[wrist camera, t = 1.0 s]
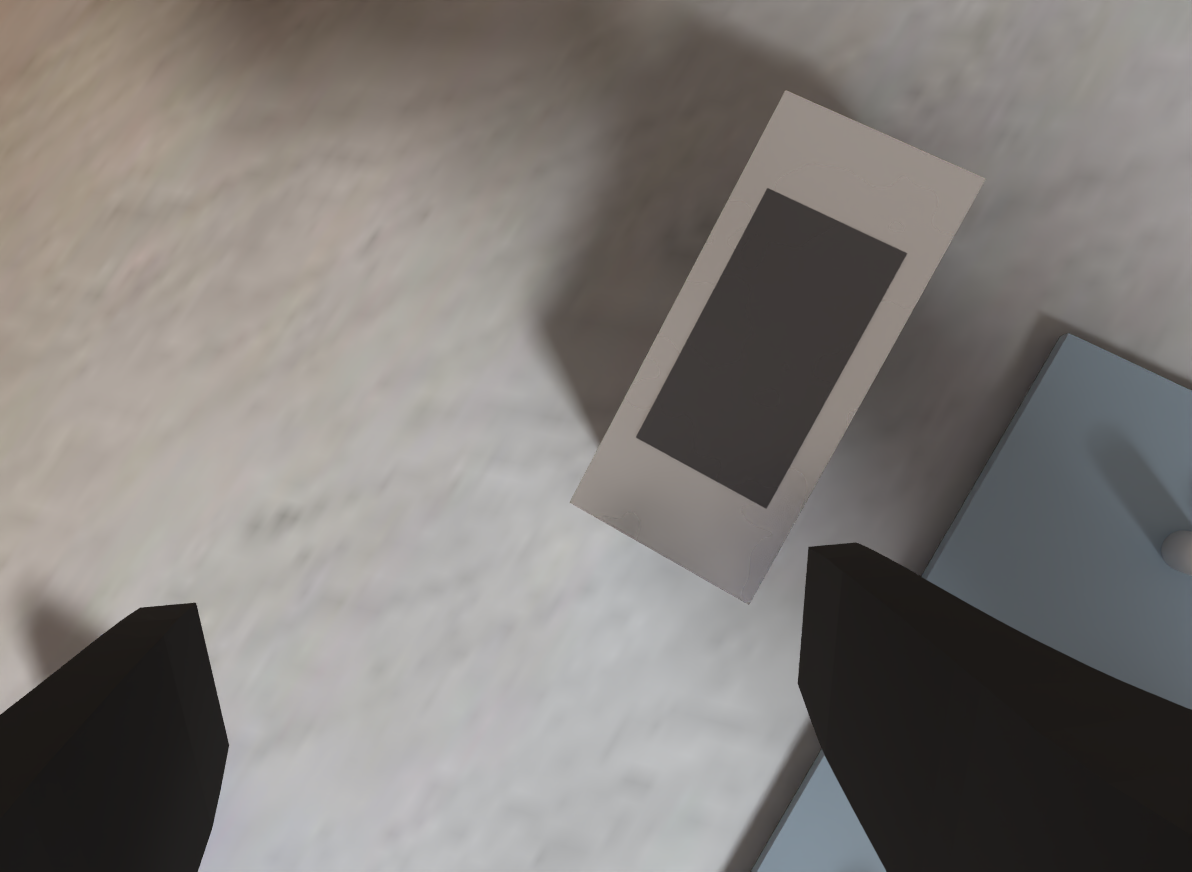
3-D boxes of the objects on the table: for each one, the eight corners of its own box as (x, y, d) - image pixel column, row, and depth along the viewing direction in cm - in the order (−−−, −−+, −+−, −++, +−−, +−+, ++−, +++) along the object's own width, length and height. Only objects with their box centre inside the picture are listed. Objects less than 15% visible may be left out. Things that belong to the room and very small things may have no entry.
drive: (942, 239, 24) (986, 177, 18) (762, 565, 25) (749, 605, 19) (790, 169, 25) (785, 88, 19) (622, 486, 26) (568, 502, 20)
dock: (1556, 570, 21) (1717, 599, 17) (1106, 1246, 23) (1162, 1399, 20) (1060, 336, 23) (1107, 318, 20) (693, 969, 26) (674, 1060, 22)
